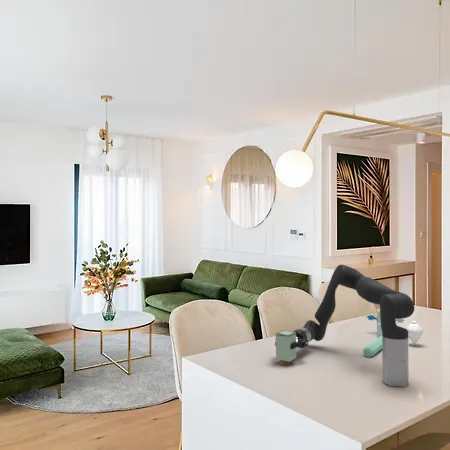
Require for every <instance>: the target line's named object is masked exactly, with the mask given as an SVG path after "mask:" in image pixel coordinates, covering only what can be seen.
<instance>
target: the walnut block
mask: <svg viewBox="0 0 450 450" xmlns="http://www.w3.org/2000/svg"><path fill="white" fill-rule="evenodd" d="M292 364H293V360H292V361H283V360H279V365H283V366H288V367H289V366H290V365H292Z"/></svg>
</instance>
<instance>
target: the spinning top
mask: <svg viewBox="0 0 450 450" xmlns="http://www.w3.org/2000/svg"><path fill="white" fill-rule="evenodd" d="M405 329H407V330H408V339H409V340H410V341H411V343H412V344H413V346H414V347H415V346H416V344H417V342H419V340H420V339H421V337H422V336H423V333H424V330H423V328H422V326H420V324H418V323H417V321H416V320H411V323H409V324H408V325H407V326H406V328H405Z"/></svg>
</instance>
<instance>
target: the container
mask: <svg viewBox="0 0 450 450" xmlns="http://www.w3.org/2000/svg"><path fill="white" fill-rule="evenodd" d="M379 351H382V334H381V335H380V336H379V335H378V337H376V339H375V340H373V341H372V342H370V343H369V344H368V345H366V347H364V348H363V349H362V354H363V355H364V357H365V358H369V359H370V358H372V357H373V356H375V354H377V353H378V352H379Z"/></svg>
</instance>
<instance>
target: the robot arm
mask: <svg viewBox="0 0 450 450" xmlns="http://www.w3.org/2000/svg"><path fill="white" fill-rule="evenodd" d="M339 285H340V286H343V287H345V288H347V289H352V290H355V291H356V292H357V295H358V296H359V297H360V298H362V299H364V300H365V301H366V302H369V303H371V304H375V305H379V309H380V318H381V329H382V349H381V351H382V353H381V354H382V359H381V360H382V382H383V383H384V384H385V385H388V386H389V387H405V388H407V386H408V385H409V382H410V381H409V378H410V377H409V375H410V374H409V371H410V369H409V337H408V330H407V329H406V328H405V327H403V326H399V325H397V321H396V320H395V319H400V318H403V319H407V318H409V317H411V316H412V315H413V314H414V312H415V304H414V301H413V299H412V298H411V297H410V296H409V295H408V294H406V293H403V292H400V291H397V290H395V289H393V288H391V287H388V286H387V285H385V284H383V283H381V282H379V281H378V280H376V279H375V278H371V277H370V276H365V275H364V274H363V273H361V271H359V270H357V269H356V268H354V267H351V266H349V265H345V264H338V265H337V266H336V267H335V269H334V270H333V273H332V274H331V278H330V281H329V282H328V286H327V288H326V291H325V294H324V296H323V299H322V300H321V303H320V304H319V307H318V308H317V309H316V311H315V314H314V319H316V321H314V320H312V319H310V320H307V321H306V322H305V324H303V327H299V328H297V329H295V330H293V331H291V332H296V341H295V342H293V343H291V345H290V348H291V349H294V348H296V349H298V348H300V349H303V348H305V347H307V346H309V343H310V342H311V341H313V340H314V341H316V342H320V341H322V340H323V339H324V338H325V335H326V331H327V327H328V325H329V321H330V319H331V318H332V316H333V315H334V312H335V310H336V292H337V288H338V287H339ZM317 322H318V323H317ZM274 346H275V347H276V341H275V342H274Z"/></svg>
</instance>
